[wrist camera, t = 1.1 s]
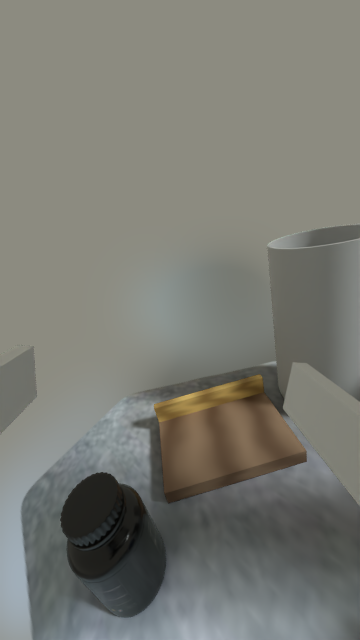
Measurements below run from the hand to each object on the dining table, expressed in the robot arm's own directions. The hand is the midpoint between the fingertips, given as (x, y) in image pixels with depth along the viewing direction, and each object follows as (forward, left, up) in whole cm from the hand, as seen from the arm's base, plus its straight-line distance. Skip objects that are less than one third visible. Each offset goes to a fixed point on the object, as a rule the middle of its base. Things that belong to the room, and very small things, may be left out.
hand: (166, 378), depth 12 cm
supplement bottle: (+9, -3, -24) cm, 26 cm away
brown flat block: (-4, -14, -24) cm, 28 cm away
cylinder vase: (-22, -18, -24) cm, 37 cm away
